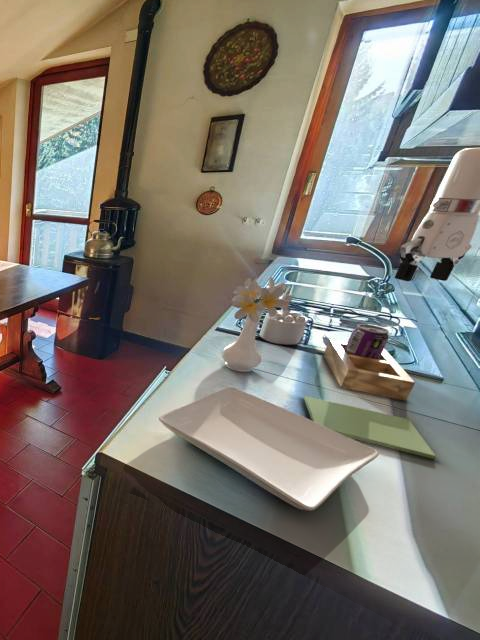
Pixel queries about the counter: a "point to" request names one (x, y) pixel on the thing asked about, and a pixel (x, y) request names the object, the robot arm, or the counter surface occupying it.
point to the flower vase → (253, 320)
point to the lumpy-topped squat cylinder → (284, 327)
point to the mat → (368, 426)
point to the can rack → (368, 372)
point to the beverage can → (367, 341)
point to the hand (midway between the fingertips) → (420, 279)
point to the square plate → (270, 445)
